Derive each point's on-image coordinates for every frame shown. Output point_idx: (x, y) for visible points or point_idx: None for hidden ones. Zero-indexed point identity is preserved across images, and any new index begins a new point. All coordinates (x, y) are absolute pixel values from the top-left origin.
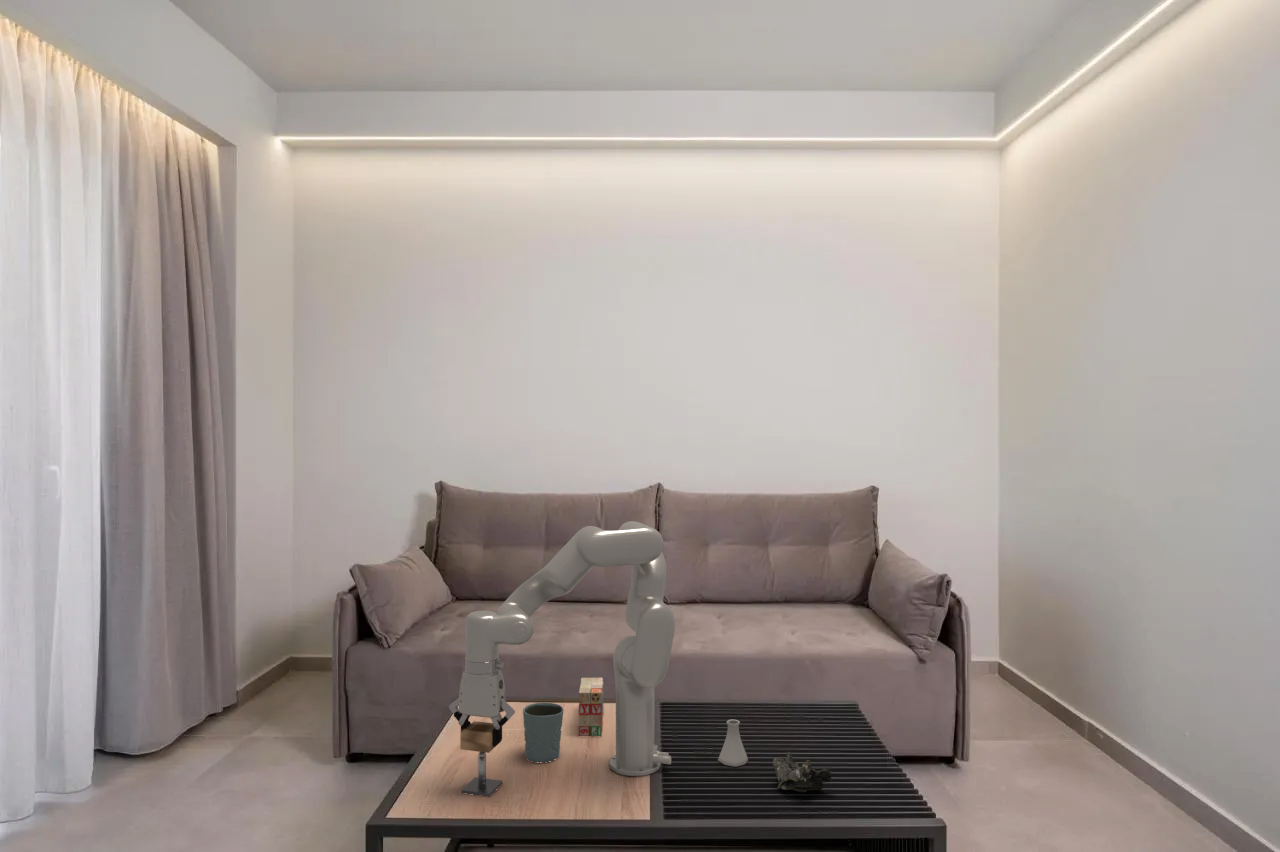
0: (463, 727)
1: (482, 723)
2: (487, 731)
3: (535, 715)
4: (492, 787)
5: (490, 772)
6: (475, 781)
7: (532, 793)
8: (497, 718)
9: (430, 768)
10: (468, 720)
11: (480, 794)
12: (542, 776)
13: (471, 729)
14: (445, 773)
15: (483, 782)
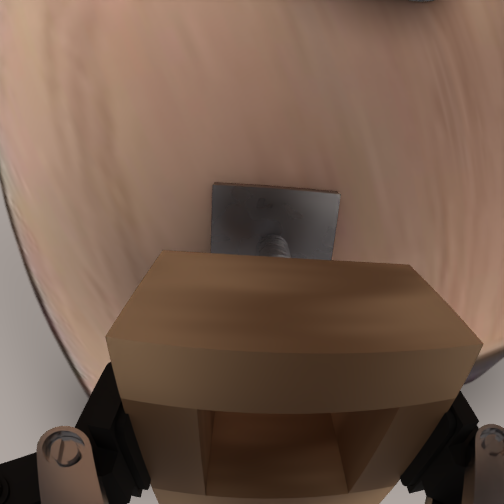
0: (139, 488)
1: (256, 389)
2: (361, 486)
3: None
4: (319, 259)
5: (249, 94)
6: (231, 222)
7: (447, 246)
8: (471, 500)
9: (24, 133)
10: (114, 473)
11: None
12: (456, 112)
13: (205, 475)
14: (80, 151)
15: None
